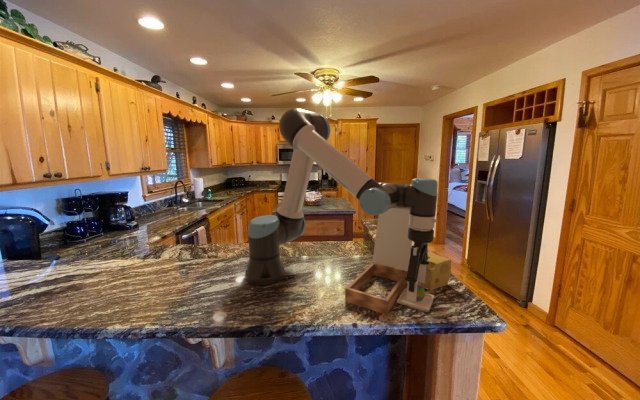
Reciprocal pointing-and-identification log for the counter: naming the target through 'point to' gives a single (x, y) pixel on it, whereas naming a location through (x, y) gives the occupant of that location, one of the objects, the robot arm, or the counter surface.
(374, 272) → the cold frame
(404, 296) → the dish
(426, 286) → the cheese
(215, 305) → the counter surface
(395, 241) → the lid
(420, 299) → the egg
